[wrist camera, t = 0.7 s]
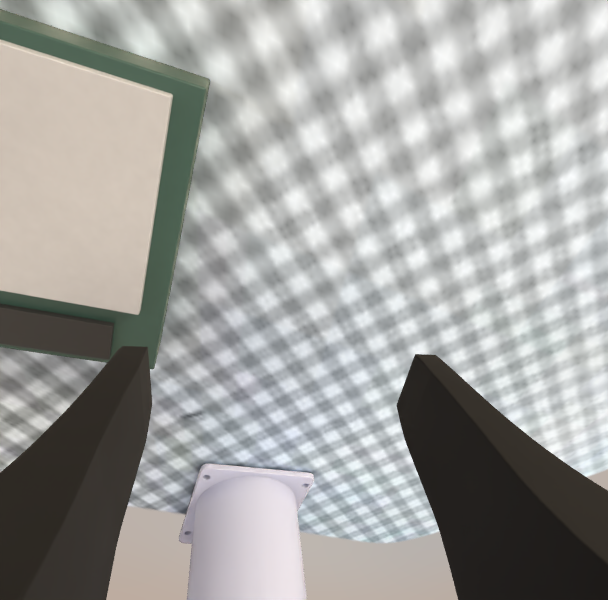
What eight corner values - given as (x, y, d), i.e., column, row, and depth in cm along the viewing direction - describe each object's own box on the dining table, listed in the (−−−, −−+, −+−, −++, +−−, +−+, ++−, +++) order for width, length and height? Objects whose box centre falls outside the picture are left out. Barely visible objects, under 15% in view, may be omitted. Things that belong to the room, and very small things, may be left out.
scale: (160, 341, 23) (152, 377, 20) (-62, 304, 20) (-100, 341, 18) (210, 79, 16) (205, 90, 14) (-110, -28, 13) (-180, -36, 11)
